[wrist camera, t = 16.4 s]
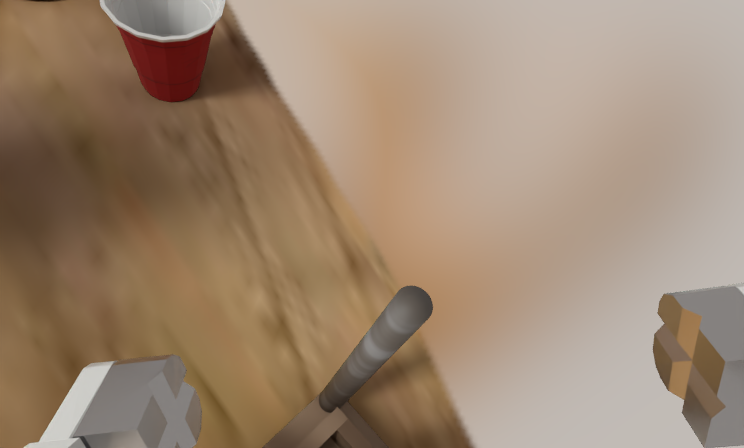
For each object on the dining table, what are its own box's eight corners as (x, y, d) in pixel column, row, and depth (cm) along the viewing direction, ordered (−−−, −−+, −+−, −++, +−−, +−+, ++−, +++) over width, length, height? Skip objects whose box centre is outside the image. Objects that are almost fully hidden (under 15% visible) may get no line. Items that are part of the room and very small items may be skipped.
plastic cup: (95, 100, 55) (70, 3, 45) (143, 33, 61) (130, -66, 51) (199, 137, 56) (198, 49, 46) (236, 68, 62) (242, -23, 52)
